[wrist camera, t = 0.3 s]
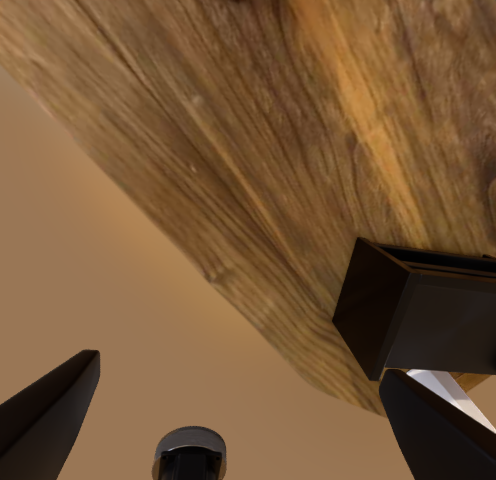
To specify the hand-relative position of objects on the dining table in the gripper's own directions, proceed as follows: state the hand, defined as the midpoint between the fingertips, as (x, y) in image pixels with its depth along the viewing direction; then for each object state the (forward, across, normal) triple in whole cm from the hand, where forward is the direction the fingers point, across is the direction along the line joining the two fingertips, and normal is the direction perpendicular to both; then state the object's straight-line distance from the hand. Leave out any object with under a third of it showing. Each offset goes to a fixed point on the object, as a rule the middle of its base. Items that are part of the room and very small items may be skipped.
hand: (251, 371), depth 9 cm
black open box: (+16, -18, +4) cm, 25 cm away
